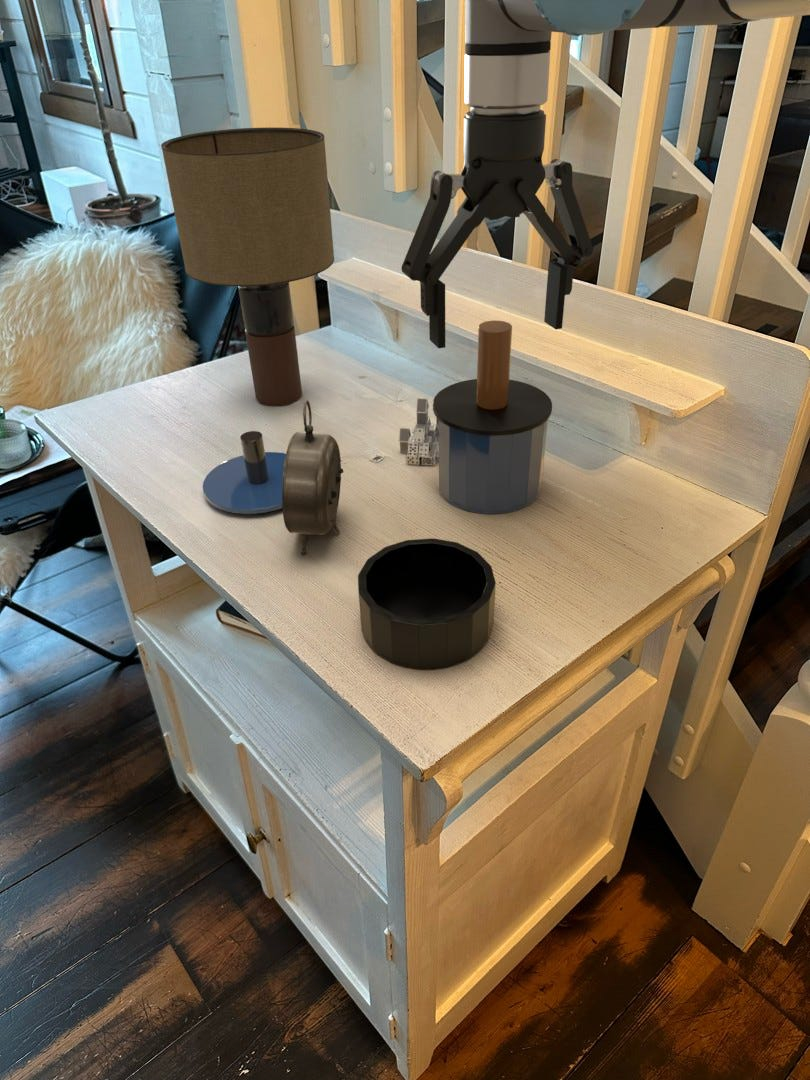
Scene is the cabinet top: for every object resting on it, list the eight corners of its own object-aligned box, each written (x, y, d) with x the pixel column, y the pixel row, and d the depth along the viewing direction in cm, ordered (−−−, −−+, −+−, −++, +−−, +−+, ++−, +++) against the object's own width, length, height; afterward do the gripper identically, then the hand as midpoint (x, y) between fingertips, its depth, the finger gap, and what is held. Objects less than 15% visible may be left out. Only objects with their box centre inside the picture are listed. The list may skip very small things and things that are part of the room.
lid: (573, 407, 88) (583, 321, 82) (506, 453, 80) (511, 361, 74) (479, 377, 95) (481, 296, 89) (408, 417, 87) (406, 330, 81)
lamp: (306, 359, 127) (280, 122, 106) (369, 401, 113) (353, 139, 92) (191, 390, 118) (139, 139, 97) (245, 440, 104) (196, 160, 84)
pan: (517, 616, 74) (521, 572, 70) (436, 691, 66) (436, 645, 63) (418, 566, 81) (418, 523, 77) (334, 629, 73) (329, 585, 70)
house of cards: (383, 429, 106) (380, 378, 101) (445, 433, 104) (445, 382, 100) (368, 462, 98) (365, 408, 94) (434, 467, 97) (434, 412, 92)
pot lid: (337, 482, 95) (332, 431, 90) (252, 531, 87) (242, 478, 82) (265, 449, 102) (258, 400, 98) (182, 492, 94) (169, 440, 90)
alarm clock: (306, 505, 91) (291, 378, 81) (351, 506, 90) (340, 379, 81) (286, 561, 82) (266, 426, 72) (335, 562, 81) (321, 427, 72)
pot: (560, 481, 93) (568, 403, 87) (501, 526, 86) (505, 445, 80) (477, 449, 100) (480, 375, 94) (416, 489, 93) (414, 412, 87)
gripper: (603, 95, 75) (581, 307, 88) (362, 114, 69) (375, 339, 81) (646, 102, 69) (616, 328, 82) (388, 124, 63) (397, 364, 76)
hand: (496, 334), depth 82 cm, fingers open, 13 cm apart
